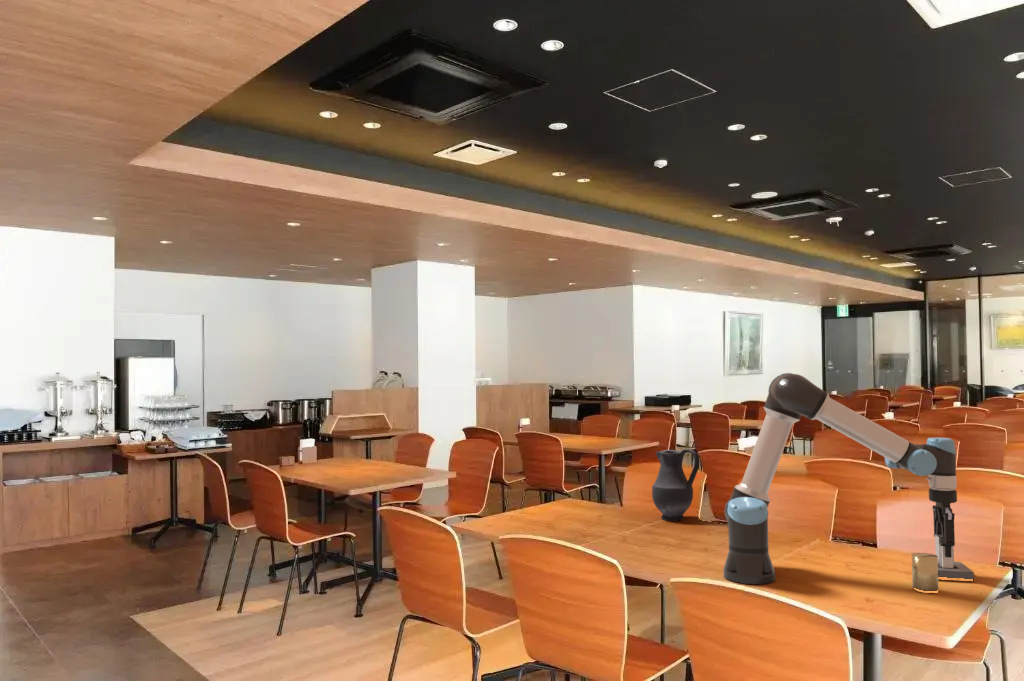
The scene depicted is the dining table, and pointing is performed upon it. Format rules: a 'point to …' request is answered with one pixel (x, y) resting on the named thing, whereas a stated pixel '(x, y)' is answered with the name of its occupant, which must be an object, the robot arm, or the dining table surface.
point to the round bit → (925, 571)
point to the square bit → (940, 550)
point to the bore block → (956, 571)
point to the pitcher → (673, 484)
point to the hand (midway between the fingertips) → (944, 565)
